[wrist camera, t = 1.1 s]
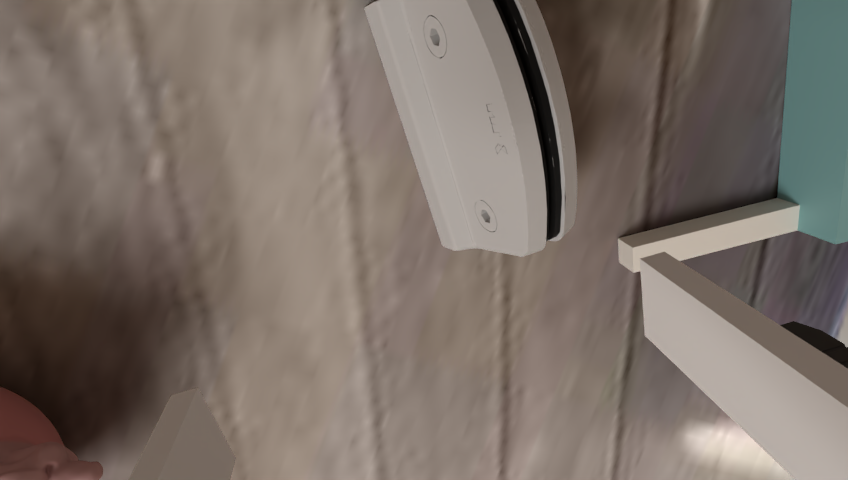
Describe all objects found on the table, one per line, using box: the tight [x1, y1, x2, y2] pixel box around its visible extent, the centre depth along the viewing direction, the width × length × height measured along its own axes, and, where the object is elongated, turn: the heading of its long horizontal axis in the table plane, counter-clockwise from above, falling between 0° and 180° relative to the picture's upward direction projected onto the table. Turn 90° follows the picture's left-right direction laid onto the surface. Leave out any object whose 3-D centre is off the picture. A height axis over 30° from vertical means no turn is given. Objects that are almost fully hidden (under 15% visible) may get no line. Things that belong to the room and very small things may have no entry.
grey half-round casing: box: [364, 0, 577, 257], centre depth 28 cm, size 17×5×10 cm, turn 18°
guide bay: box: [618, 0, 848, 273], centre depth 30 cm, size 26×15×5 cm, turn 11°
